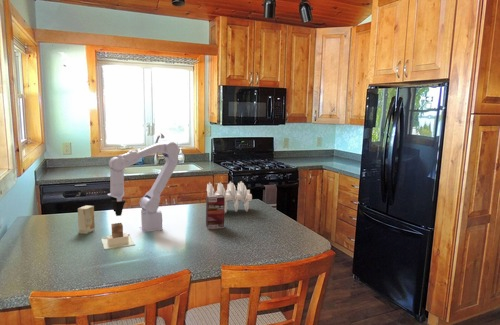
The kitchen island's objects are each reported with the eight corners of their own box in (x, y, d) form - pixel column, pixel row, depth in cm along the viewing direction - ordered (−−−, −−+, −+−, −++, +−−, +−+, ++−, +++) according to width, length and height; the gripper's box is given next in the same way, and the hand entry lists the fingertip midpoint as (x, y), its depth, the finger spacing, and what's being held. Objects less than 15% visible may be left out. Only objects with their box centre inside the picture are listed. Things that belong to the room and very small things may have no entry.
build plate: (129, 235, 162) (129, 234, 162) (135, 246, 150) (135, 244, 150) (101, 239, 156) (101, 237, 156) (104, 251, 144) (104, 249, 144)
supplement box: (207, 229, 173) (207, 197, 170) (205, 226, 177) (205, 195, 175) (224, 228, 175) (225, 196, 173) (222, 225, 180) (222, 194, 177)
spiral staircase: (251, 219, 203) (208, 219, 197) (245, 199, 217) (205, 199, 211) (257, 194, 193) (212, 194, 187) (250, 175, 208) (208, 174, 201)
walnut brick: (121, 233, 154) (121, 222, 154) (123, 236, 151) (122, 225, 150) (111, 235, 152) (111, 223, 152) (113, 238, 149) (112, 226, 148)
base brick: (127, 239, 156) (126, 233, 155) (128, 242, 152) (128, 236, 152) (107, 242, 152) (107, 235, 152) (108, 245, 148) (108, 238, 148)
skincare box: (86, 235, 162) (85, 209, 160) (78, 234, 163) (76, 208, 161) (95, 230, 168) (94, 205, 166) (87, 229, 169) (86, 204, 167)
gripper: (105, 181, 164) (106, 210, 165) (109, 187, 151) (109, 218, 153) (121, 180, 167) (122, 208, 169) (126, 186, 154) (127, 216, 156)
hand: (117, 213), depth 161 cm, fingers open, 7 cm apart
